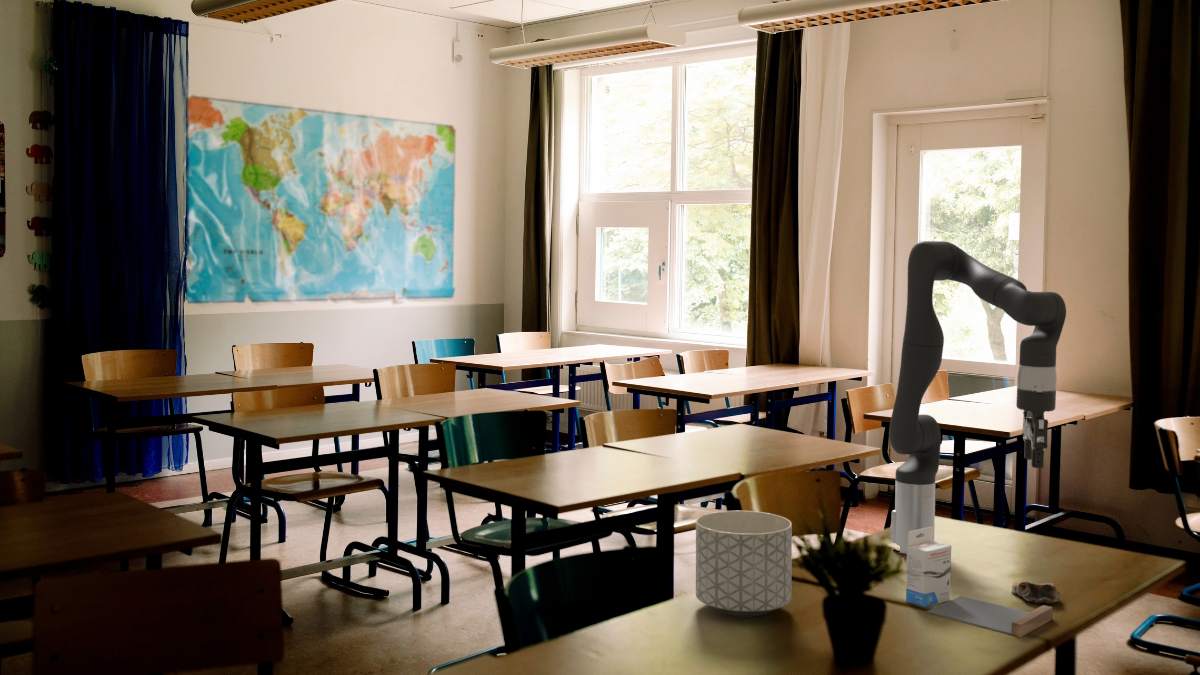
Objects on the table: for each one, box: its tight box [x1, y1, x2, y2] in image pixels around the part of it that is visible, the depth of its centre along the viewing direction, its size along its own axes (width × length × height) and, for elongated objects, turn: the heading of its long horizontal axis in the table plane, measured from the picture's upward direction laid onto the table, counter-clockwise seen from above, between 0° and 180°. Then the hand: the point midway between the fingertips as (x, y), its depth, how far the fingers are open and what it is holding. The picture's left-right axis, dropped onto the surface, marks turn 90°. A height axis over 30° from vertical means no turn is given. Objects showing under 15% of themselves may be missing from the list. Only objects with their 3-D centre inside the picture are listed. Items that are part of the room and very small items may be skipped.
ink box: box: [905, 526, 952, 608], centre depth 208 cm, size 8×5×15 cm, turn 125°
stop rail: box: [1010, 604, 1054, 638], centre depth 193 cm, size 2×14×2 cm, turn 134°
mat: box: [926, 595, 1031, 636], centre depth 200 cm, size 17×14×1 cm
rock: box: [1011, 580, 1061, 605], centre depth 209 cm, size 9×6×10 cm
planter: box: [695, 510, 793, 618], centre depth 202 cm, size 19×19×18 cm
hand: (1033, 463), depth 212 cm, fingers open, 8 cm apart
